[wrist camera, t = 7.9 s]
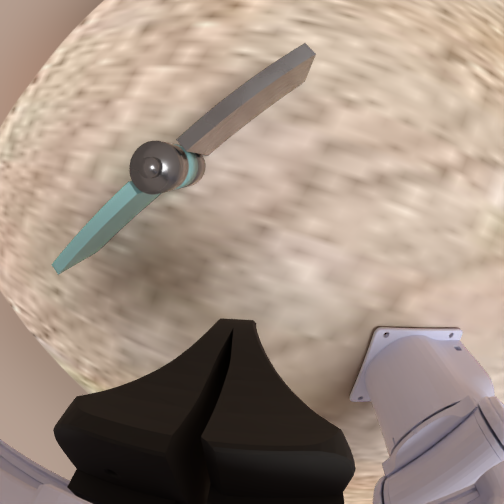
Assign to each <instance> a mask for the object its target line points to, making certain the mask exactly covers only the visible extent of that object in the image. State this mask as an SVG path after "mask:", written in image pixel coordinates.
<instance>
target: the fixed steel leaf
mask: <svg viewBox="0 0 504 504" xmlns="http://www.w3.org/2000/svg"><path fill="white" fill-rule="evenodd" d="M315 55H316V54H315V53H314V52H313V51H312V50H311V49H310V48H309V47H308V46H307V45H306V44H305V43H304V44H303V45H301V46H299V47H298V48H296V49H294V50H293V51H291V52H290V53H288V54H287V55H285V56H283V57H282V58H280V59H279V60H277V61H276V62H274V63H273V64H271V65H270V66H268V67H267V68H265V69H264V70H263V71H261V72H260V73H258V74H257V75H255V76H254V77H253V78H251V79H250V80H249V81H247V82H246V83H244V84H243V85H242V86H240V87H239V88H238V89H236V90H235V91H234V92H232V93H231V94H230V95H229V96H227V97H226V98H225V99H223V100H222V101H221V102H220V103H218V104H217V105H216V106H215V107H214V108H212V109H211V110H210V111H209V112H207V113H206V114H205V115H204V116H203V117H201V118H200V119H199V120H198V121H197V122H196V123H194V124H193V125H192V126H191V127H190V128H189V129H188V130H186V131H185V132H184V133H183V134H182V135H181V136H180V137H179V138H178V139H176V140H177V141H178V142H179V143H180V145H181V146H182V147H183V148H184V149H185V150H186V151H187V152H193V153H194V154H195V156H196V158H197V161H198V171H197V175H196V177H195V178H194V180H193V181H192V182H191V183H190V184H189V185H187V186H191V185H194V184H195V183H197V182H198V181H199V180H200V179H201V178H202V176H203V174H204V172H205V160H204V158H203V156H202V155H201V154H204V155H209V154H210V153H211V152H213V151H214V150H215V149H216V148H217V147H219V146H220V145H221V144H222V143H223V142H225V141H226V140H227V139H228V138H229V137H231V136H232V135H233V134H234V133H236V132H237V131H238V130H239V129H241V128H242V127H243V126H244V125H246V124H247V123H248V122H250V121H251V120H252V119H254V118H255V117H256V116H257V115H259V114H260V113H261V112H263V111H264V110H265V109H267V108H268V107H269V106H271V105H272V104H274V103H275V102H276V101H278V100H279V99H280V98H282V97H283V96H285V95H286V94H288V93H289V92H290V91H292V90H293V89H295V88H296V87H298V86H299V85H301V84H302V83H303V82H305V80H306V77H307V75H308V72H309V70H310V67H311V65H312V62H313V60H314V57H315ZM188 170H189V162H188V158H187V156H186V154H185V152H184V151H183V150H182V149H181V148H180V147H179V146H177V145H175V144H171V143H166V142H161V141H150V142H147V143H144V144H143V145H141V146H140V147H139V148H138V149H137V150H136V151H135V153H134V154H133V156H132V158H131V162H130V176H131V179H132V181H133V183H134V185H135V186H136V187H137V188H138V189H139V190H140V191H142V192H144V193H146V194H151V195H153V194H160V193H164V192H167V191H171V190H174V189H176V188H178V187H179V186H180V185H181V184H182V183H183V182H184V181H185V179H186V177H187V174H188ZM187 186H185V187H187Z"/></svg>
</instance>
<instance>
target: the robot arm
mask: <svg viewBox="0 0 504 504" xmlns="http://www.w3.org/2000/svg"><path fill="white" fill-rule="evenodd" d="M386 332H388V333H387V334H386V335H384V334H385V333H386ZM462 333H463V332H462V330H461V329H459V328H456V329H430V328H389V327H379V328H377V329H376V330H375V332H374V334H373V337H372V340H371V343H370V346H369V348H368V351H367V354H366V357H365V359H364V362H363V365H362V367H361V370H360V372H359V375H358V377H357V380H356V382H355V385H354V387H353V389H352V392H351V394H350V397H349V398H350V400H351V401H352V402H365V401H371V402H372V405H373V408H374V411H375V414H376V417H377V420H378V422H379V425H380V428H381V431H382V434H383V437H384V441H385V444H386V447H387V450H388V453H389V456H390V457H389V458H388V459H387V460H386V461H385V462H383V463H382V466H383V469H384V473H385V476H383V477H381V478H380V479H379V480H378V482H377V483H376V486H375V489H374V495H373V504H504V404H503V403H502V402H501V401H500V400H499V399H498V398H497V397H496V396H495V395H494V386H493V383H492V380H491V378H490V376H489V374H488V373H487V372H486V371H485V369H484V368H483V367H482V366H481V365H480V363H479V362H478V361H477V360H476V359H475V357H474V356H473V355H472V354H471V353H470V352H469V351H468V349H467V348H466V347H465V346H464V345H463V344H462V343H461V341H460V339H461V336H462ZM54 435H55V438H56V440H57V442H58V444H59V446H60V447H61V448H62V450H63V451H64V453H65V454H66V455H67V457H68V458H69V459H70V461H71V462H72V463H73V464H74V466H75V467H76V468H77V470H76V472H75V473H74V476H73V477H72V479H71V481H69V480H67V479H65V478H63V477H61V476H59V475H57V474H56V473H54V472H52V471H50V470H48V469H46V468H44V467H43V466H41V465H39V464H37V463H36V462H34V461H32V460H31V459H29V458H27V457H26V456H24V455H23V454H21V453H20V452H18V451H17V450H15V449H14V448H12V447H10V446H9V445H8V444H6V443H5V442H3V441H2V440H1V439H0V504H344V498H343V491H344V490H345V488H346V487H347V485H348V483H349V482H350V480H351V479H352V477H353V475H354V472H355V463H354V459H353V455H352V453H351V450H350V448H349V445H348V443H347V441H346V438H345V436H344V434H343V432H342V431H341V429H339V428H338V427H336V426H334V425H333V424H331V423H330V422H328V421H327V420H325V419H324V418H322V417H320V416H319V415H318V414H316V413H315V412H314V411H313V410H311V409H310V408H309V407H308V406H307V405H306V404H305V403H304V402H303V401H302V400H300V399H299V398H298V397H297V396H296V395H295V394H294V393H293V392H292V391H291V389H290V388H289V387H288V386H287V385H286V384H285V382H284V381H283V380H282V378H281V377H280V376H279V374H278V373H277V372H276V370H275V369H274V367H273V365H272V364H271V362H270V360H269V359H268V357H267V355H266V353H265V351H264V349H263V346H262V344H261V342H260V339H259V336H258V333H257V329H256V323H255V322H254V321H253V320H236V319H220V320H219V321H217V322H216V323H215V324H214V325H213V326H212V327H211V328H210V329H209V330H208V331H207V332H206V333H205V334H204V335H203V336H202V337H201V338H200V339H199V340H198V341H197V342H196V343H195V344H193V345H192V346H191V347H190V348H189V349H187V350H186V351H185V352H184V353H182V354H181V355H180V356H178V357H177V358H176V359H174V360H173V361H171V362H170V363H168V364H166V365H165V366H163V367H161V368H160V369H158V370H156V371H154V372H152V373H150V374H148V375H146V376H144V377H141V378H139V379H137V380H135V381H132V382H130V383H127V384H124V385H122V386H119V387H116V388H112V389H109V390H105V391H101V392H97V393H92V394H88V395H83V396H77V397H76V398H75V399H74V401H73V402H72V403H71V404H70V406H69V407H68V408H67V410H66V411H65V413H64V414H63V416H62V417H61V418H60V420H59V421H58V422H57V424H56V425H55V427H54Z"/></svg>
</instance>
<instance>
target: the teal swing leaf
mask: <svg viewBox="0 0 504 504" xmlns="http://www.w3.org/2000/svg"><path fill="white" fill-rule="evenodd" d="M175 145H176V144H175ZM177 146H179V147H180V148H181V149H182V150H183V151H184V152H185V154H186V156H187V158H188V162H189V170H188V174H187V177H186V179H185V181H184V182H183V183H182V184H181V185H180V186H179V187H178V188H176V189H179V188H183V187H185V186H187V185H189V184H190V183H191V182H192V181H193V180H194V178H195V177H196V175H197V171H198V161H197V158H196V156H195V154H194V153H193V152H187V151H186V150H185V149H184V148H183V147H182V146H181V145H177ZM174 190H175V189H174ZM160 194H161V193H160ZM160 194H153V195H151V194H146V193H144V192H142V191H140V190H139V189H138V188H137V187H136V186H135V185H134V183H133V181H130V182H128V183H127V184H126V185H125V186H124V187H122V188H121V189H120V190H119V191H118V192H117V193H116V194H115V195H114V196H113V197H112V198H111V199H110V200H109V201H108V202H107V203H106V204H105V205H104V206H103V207H102V208H101V209H100V210H99V211H98V212H97V214H96V215H95V216H94V217H93V218H92V219H91V220H90V221H89V222H88V223H87V224H86V225H85V226H84V227H83V229H82V230H81V231H80V232H79V233H78V234H77V235H76V236H75V237H74V239H73V240H72V241H71V242H70V243H69V244H68V246H67V247H66V248H65V249H64V250H63V251H62V253H61V254H60V255H59V256H58V257H57V259H56V260H55V261H54V262H53V264H52V266H53V267H54V269H55V270H56V272H57V273H58V275H59V274H60V273H62V272H64V271H65V270H67V269H69V268H70V267H72V266H74V265H75V264H77V263H79V262H81V261H82V260H84V259H86V258H88V257H89V256H91V255H93V254H95V253H96V252H98V251H99V250H100V249H101V248H102V247H103V246H104V245H105V244H106V243H107V242H108V241H109V240H110V239H111V238H112V237H113V236H114V235H115V234H116V233H117V232H118V231H120V230H121V229H122V228H123V227H124V226H125V225H126V224H127V223H128V222H129V221H130V220H132V219H133V218H134V217H135V216H136V215H137V214H138V213H139V212H140V211H142V210H143V209H144V208H145V207H146V206H147V205H148V204H150V203H151V202H152V201H153V200H154V199H155V198H157V197H158V196H159V195H160Z"/></svg>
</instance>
